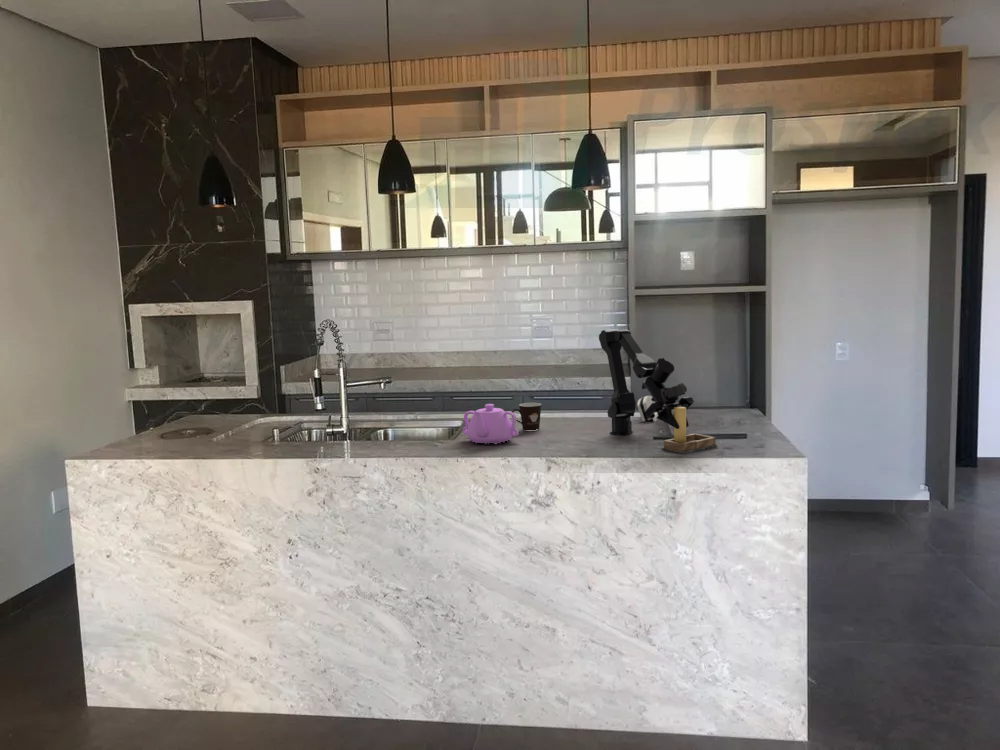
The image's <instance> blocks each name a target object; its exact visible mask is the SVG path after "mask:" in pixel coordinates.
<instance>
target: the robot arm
mask: <svg viewBox="0 0 1000 750" xmlns="http://www.w3.org/2000/svg"><path fill="white" fill-rule="evenodd" d="M598 341H599V343H600V346H601V349H602V350H603V351H604V353H606V355H607V360H608V361H607V362H608V365H609V370H610V377H611V382H612V386H613V393H612V396H611V398H610V400H611V405H610V407H609V408H608V409H607V417H608V418H611V431H609V434H612V435H621V436H626V435H628V434H632V433H633V432H634V431H633V430H632V429H633V428H632V427H633V425H632V420H631V417H634V416H635V412H636V407H637V404H636V402H637V401H636V398H635V393H634V392H633V391H630V390H629V389H628V385H627V380H626V375H625V369H624V364H623V359H622V354H621V350H622V349H623V350H624V351H625V353H626V355H627V356H628V357H629V359H630V360H631V362H632V369H633V371H634V374H635V375H636V378H638V379H645V380H644V381H642V385H641V390H646V389H647V391H648V392H649V394H650V396H652V397H653V398H652V399H651V400H652V402H655V403H652V404H651V405H650V406H649V407H648V408H647V410H646V411H645V415H646V416H647V418H648V419H650V420H652V419H651V418H654V417H655V414H654V413H656V412H657V413H658V417H657V420H659V421H662V422H664V423H666V424H668V425H669V426H671V427H673V428H674V427H675V428H676V429H679V428H680V427H679V425H678V423H677V421H676V419H675V418H674V413H673V412H674V407H685V408H686V412H687V411H688V410H689V409H690V408H691V406H692V405H693V404H694V403H695V400H694V398H693V397H691V396H684V395H686V393H687V391H688V389H687V386H686V385H685V384H684V383H683V382H681V383H679V384H677V385H675V386H671V387H667V386H666V385H665V384H666V383H667V381H668V380H670V377H671V376H672V374H673V372H674V371H675V365H674V364H673V363H672V362H671V361H668V360H666V359H665V358H664V357H661V358H660V357H659V358H658V359H657V360H656V361H655V360H654V359H653V358H652V357H651V356H648V355H646V354H645V353H644V352H643V350H642V348H640V346H639V344H638V343H637V342H636V341H635V339H634V338H633V336H632V333H631V331H630V330H628V329H617V328H615V329H603V330H601V331H600V333H599V334H598ZM682 395H683V396H684V397H681V396H682ZM679 397H681V398H679ZM676 401H678V402H676ZM672 411H673V412H672ZM688 427H689V422H688V417H687V415H686V428H688Z"/></svg>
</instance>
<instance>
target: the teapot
mask: <svg viewBox="0 0 1000 750" xmlns="http://www.w3.org/2000/svg"><path fill="white" fill-rule="evenodd" d="M469 414H471V415H472V416H471V418H470V420H469V417H468V416H469ZM463 415H464V416H463V420H464V424H465V426H464V427H463V428H462V433H463V434H464V435H466V436H467V438H468V439H469V440H470V441H471V442H472V443H474V442H475V443H474V444H477V443H485V444H484V445H490V444H489V443H499V444H502V443H501V442H503V443H506V442H505V441H507V442H509V441H510V439H511V438H512V437H517V436H518V435H519V434H520V433H519V432H520V431H519V430H518V428H515V427H516V424H517V421H516V420H517V415H516V414H515V413H514V412H513V413H512V411H508V410H507V411H505V410H504V409H503V408H499V407H495V404H494V403H486V404H484V407H483V408H479V409H476V410H468V411H466V412H465V413H464V414H463ZM509 416H511V418H512V420H511V419H510V417H509ZM508 440H509V441H508ZM487 443H488V444H487Z"/></svg>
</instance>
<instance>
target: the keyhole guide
mask: <svg viewBox="0 0 1000 750" xmlns="http://www.w3.org/2000/svg"><path fill="white" fill-rule="evenodd" d="M716 439H717V438H716V436H711V435H707V434H705V435H704V434H700V433H690V434H686V442H685V443H678V442H674V437H673V438H670V439H665V440H663V446H661V447H660V449H661V450H664V449H665V450H664V451H668V452H669V451H670V452H673V451H674V452H673V453H677V452H678V454H683V455H684V454H690V453H693V452H697V450H698V451H701V449H702V450H705V448H707V449H710V448H709V447H711V448H714V447H713V446H715V447H717V446H718V444H717V441H716Z"/></svg>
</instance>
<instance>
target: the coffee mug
mask: <svg viewBox="0 0 1000 750" xmlns="http://www.w3.org/2000/svg"><path fill="white" fill-rule="evenodd" d="M518 407H519V409H518V408H514V409H513V410H511V412H512V413H514V412H516V411H517V412H519V414H520V420H521V421H520V420H519V419H516V423H517V422H518V423H519V424H521V426H522V430H523V429H524V430H536V429H539V430H540V427H541V426H540V425H541V415H542V414H541V412H542V411H541V410H542V403H539V402H525V403H524V402H523V403H520V404H518Z"/></svg>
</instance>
